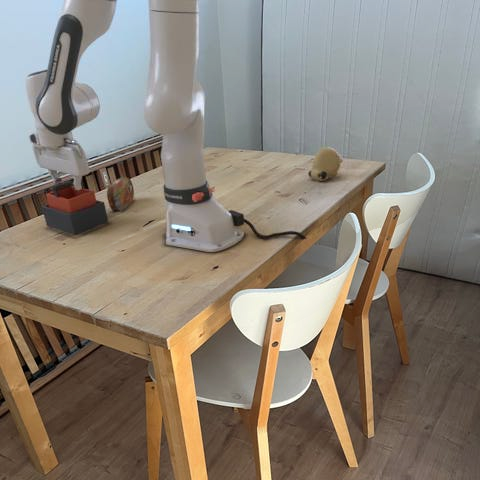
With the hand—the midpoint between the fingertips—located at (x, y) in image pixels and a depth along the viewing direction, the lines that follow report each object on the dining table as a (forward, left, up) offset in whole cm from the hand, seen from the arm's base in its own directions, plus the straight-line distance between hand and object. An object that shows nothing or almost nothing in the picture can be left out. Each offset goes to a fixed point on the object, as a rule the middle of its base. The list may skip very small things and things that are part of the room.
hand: (68, 186), depth 140 cm
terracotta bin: (0, 0, -11) cm, 11 cm away
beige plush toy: (-42, -75, -12) cm, 86 cm away
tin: (+1, -19, -12) cm, 22 cm away
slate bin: (0, 0, -12) cm, 12 cm away
